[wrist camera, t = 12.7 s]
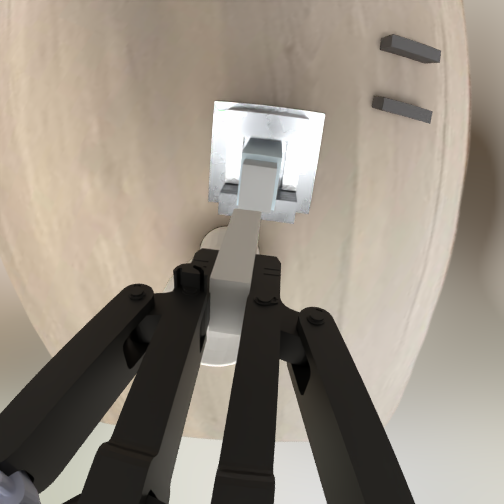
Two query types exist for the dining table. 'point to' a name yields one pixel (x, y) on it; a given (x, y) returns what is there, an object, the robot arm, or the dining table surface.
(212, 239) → the cup
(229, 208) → the port
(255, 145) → the plug
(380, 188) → the dining table surface
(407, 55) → the pair of dark bars
